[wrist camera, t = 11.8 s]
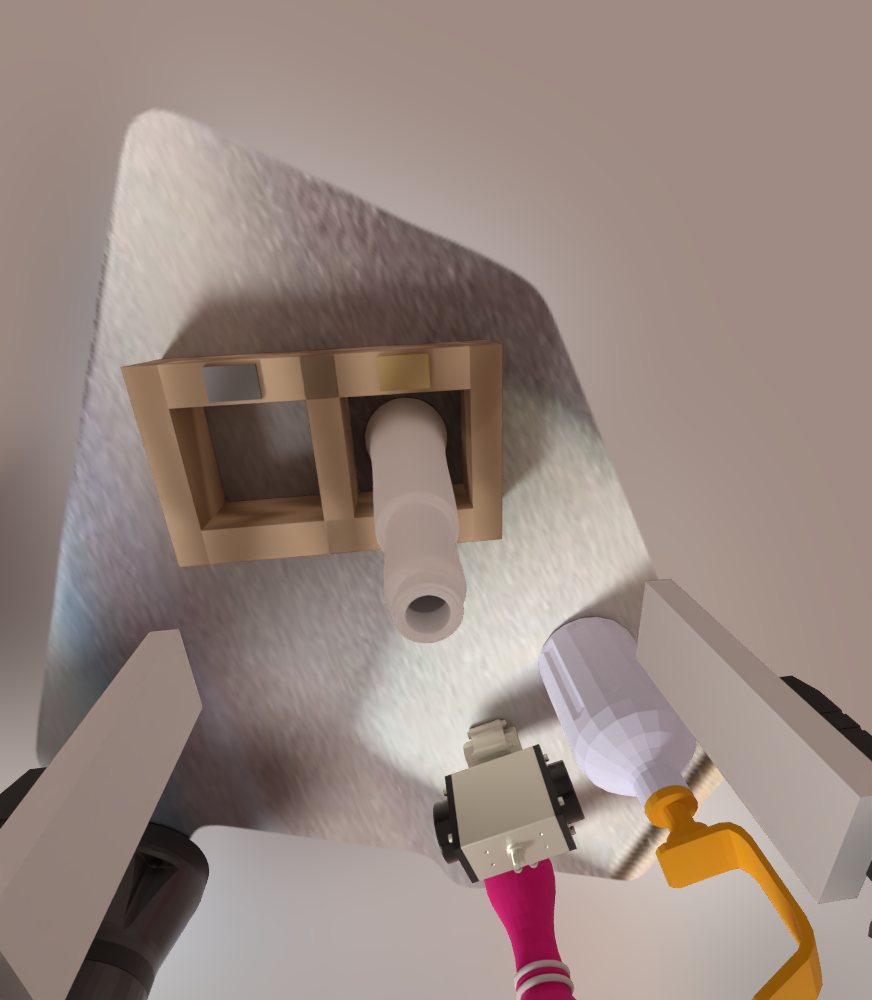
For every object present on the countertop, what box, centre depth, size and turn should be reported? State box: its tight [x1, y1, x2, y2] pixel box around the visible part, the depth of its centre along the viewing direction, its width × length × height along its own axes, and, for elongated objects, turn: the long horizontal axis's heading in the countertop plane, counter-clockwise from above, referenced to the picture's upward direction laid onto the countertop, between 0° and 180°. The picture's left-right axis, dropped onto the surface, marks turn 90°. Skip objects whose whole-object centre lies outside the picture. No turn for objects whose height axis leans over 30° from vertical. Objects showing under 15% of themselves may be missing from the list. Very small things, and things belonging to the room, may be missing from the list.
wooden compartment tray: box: [121, 340, 503, 567], centre depth 32 cm, size 22×13×5 cm, turn 93°
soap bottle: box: [539, 617, 822, 1000], centre depth 32 cm, size 9×9×25 cm
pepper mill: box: [484, 858, 576, 1000], centre depth 43 cm, size 7×7×20 cm
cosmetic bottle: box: [365, 398, 466, 643], centre depth 24 cm, size 6×6×22 cm
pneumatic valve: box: [433, 719, 585, 883], centre depth 41 cm, size 6×12×12 cm, turn 110°
